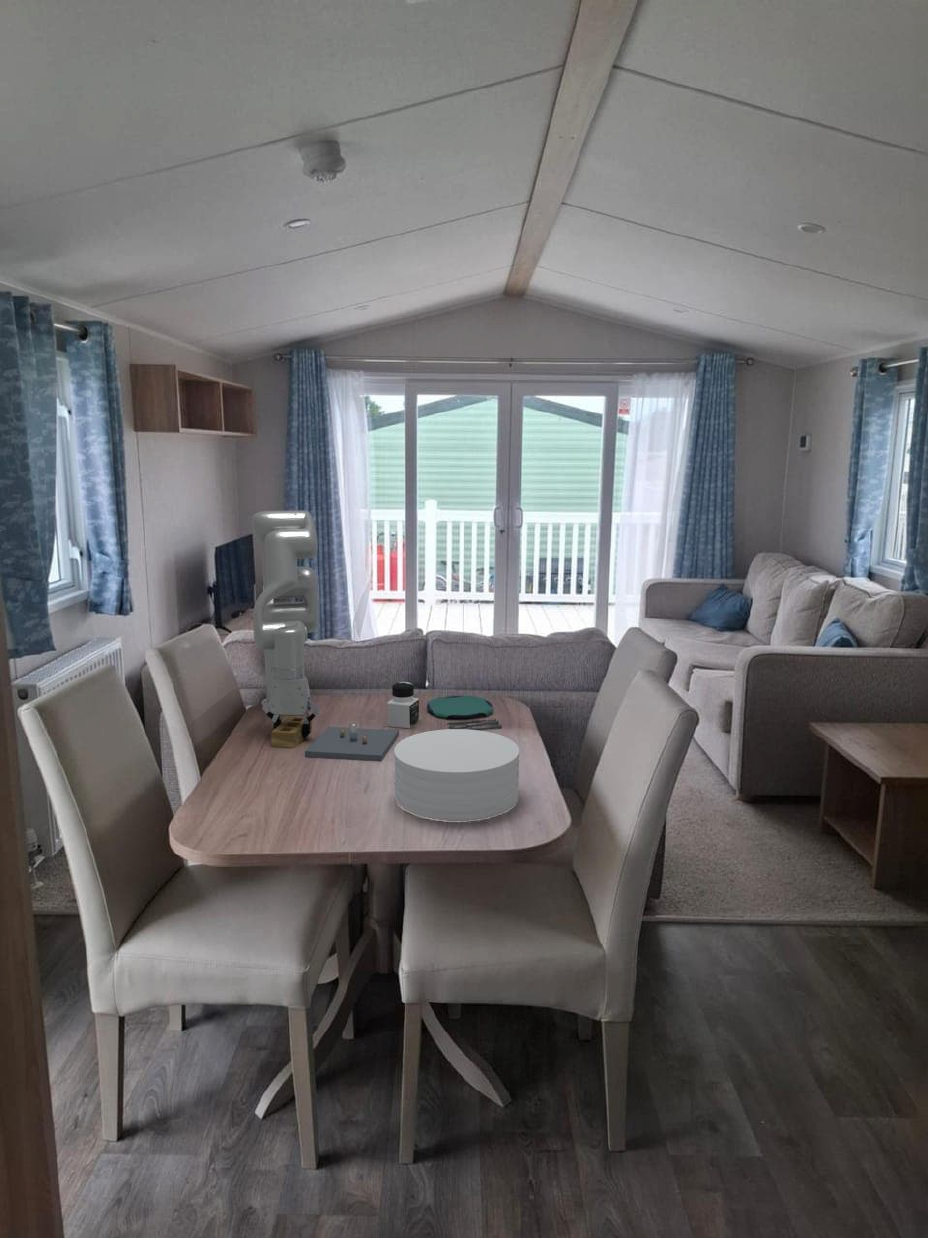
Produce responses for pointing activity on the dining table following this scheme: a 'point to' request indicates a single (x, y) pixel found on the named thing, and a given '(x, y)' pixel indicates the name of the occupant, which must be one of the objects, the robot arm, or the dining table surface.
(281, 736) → the tan slatted rectangular block
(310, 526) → the robot arm
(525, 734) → the dining table surface
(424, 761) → the plate stack
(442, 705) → the cutlery set
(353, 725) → the pegs
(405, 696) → the medicine bottle
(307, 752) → the slate board
